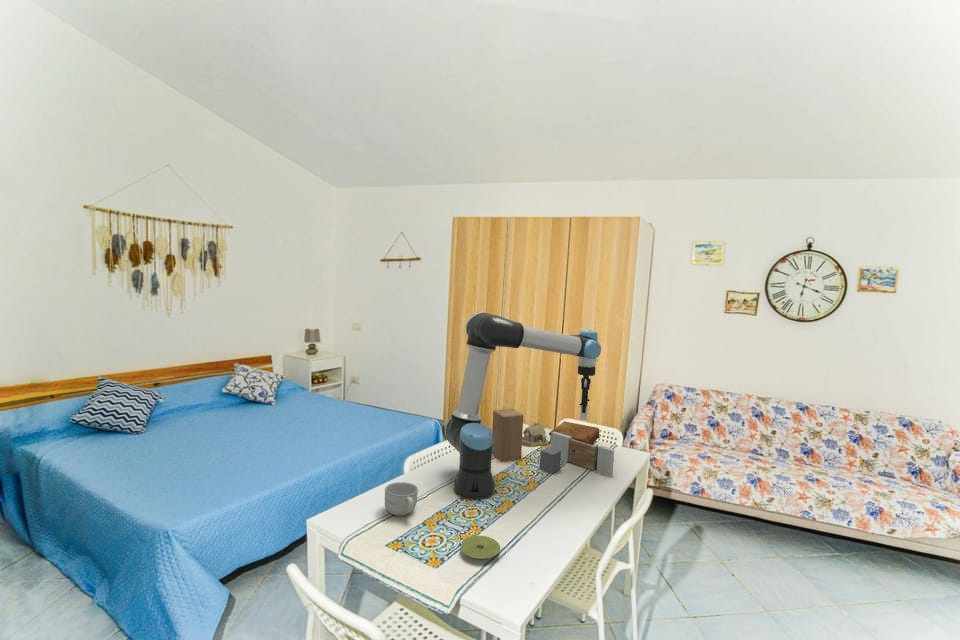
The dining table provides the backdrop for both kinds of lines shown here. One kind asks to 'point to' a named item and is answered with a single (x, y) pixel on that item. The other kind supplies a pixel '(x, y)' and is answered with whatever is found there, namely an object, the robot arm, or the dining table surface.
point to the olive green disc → (480, 547)
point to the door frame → (603, 460)
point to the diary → (578, 432)
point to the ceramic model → (534, 435)
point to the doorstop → (550, 460)
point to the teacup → (400, 498)
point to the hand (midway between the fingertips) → (583, 417)
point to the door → (583, 454)
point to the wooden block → (507, 434)
